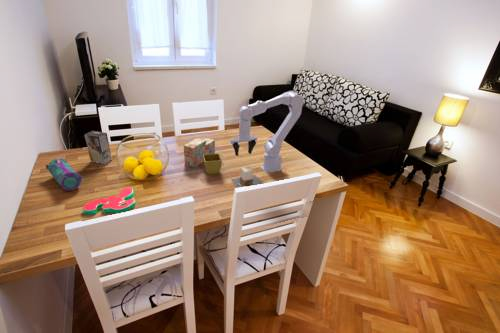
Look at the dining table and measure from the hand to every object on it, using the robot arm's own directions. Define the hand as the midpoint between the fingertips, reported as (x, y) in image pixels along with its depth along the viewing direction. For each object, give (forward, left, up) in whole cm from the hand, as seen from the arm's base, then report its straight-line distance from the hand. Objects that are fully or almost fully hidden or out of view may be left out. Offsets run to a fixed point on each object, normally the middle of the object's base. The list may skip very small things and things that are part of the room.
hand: (243, 154), depth 148 cm
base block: (+5, +15, -10) cm, 18 cm away
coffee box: (+68, -37, -10) cm, 78 cm away
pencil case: (+83, -19, -10) cm, 86 cm away
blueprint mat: (+3, +14, -10) cm, 17 cm away
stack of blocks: (+17, -21, -10) cm, 29 cm away
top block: (+5, +15, -6) cm, 16 cm away
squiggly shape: (+66, +7, -11) cm, 67 cm away
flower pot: (+16, -4, -10) cm, 19 cm away
